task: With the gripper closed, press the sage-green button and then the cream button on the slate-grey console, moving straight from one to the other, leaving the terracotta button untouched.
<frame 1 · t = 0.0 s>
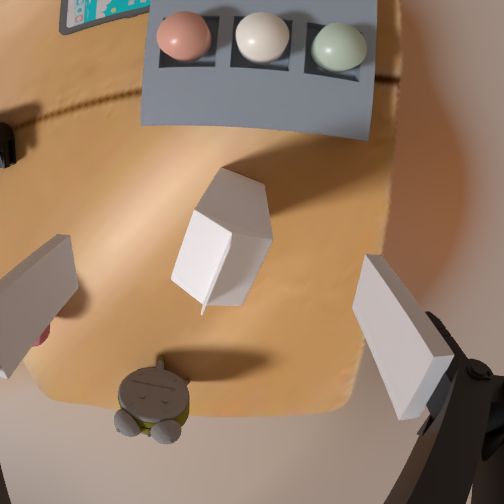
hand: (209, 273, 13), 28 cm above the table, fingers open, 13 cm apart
alarm clock: (163, 367, 53), on the table
button sage: (337, 48, 28), point 6 cm above the table, slide at 0.0 cm
button terracotta: (185, 37, 27), point 6 cm above the table, slide at 0.0 cm
button cream: (261, 38, 28), point 6 cm above the table, slide at 0.0 cm
milk: (234, 196, 41), on the table
console: (260, 49, 33), on the table
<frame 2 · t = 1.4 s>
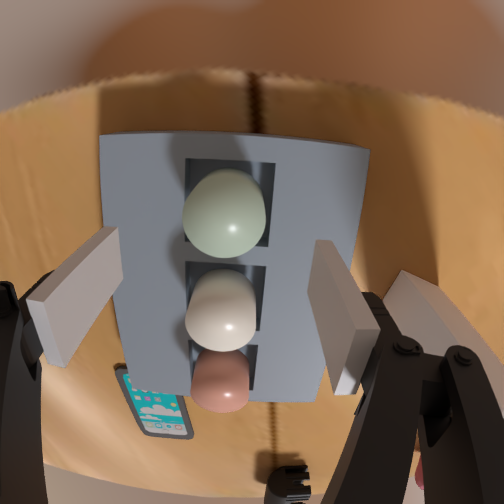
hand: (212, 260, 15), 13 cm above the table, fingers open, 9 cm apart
button sage: (225, 210, 22), point 6 cm above the table, slide at 0.0 cm
button terracotta: (221, 379, 28), point 6 cm above the table, slide at 0.0 cm
button cream: (222, 309, 25), point 6 cm above the table, slide at 0.0 cm
end cap: (284, 475, 47), on the table
milk: (406, 299, 32), on the table
smartphone: (158, 403, 39), on the table
apple: (429, 446, 46), on the table
console: (227, 275, 30), on the table
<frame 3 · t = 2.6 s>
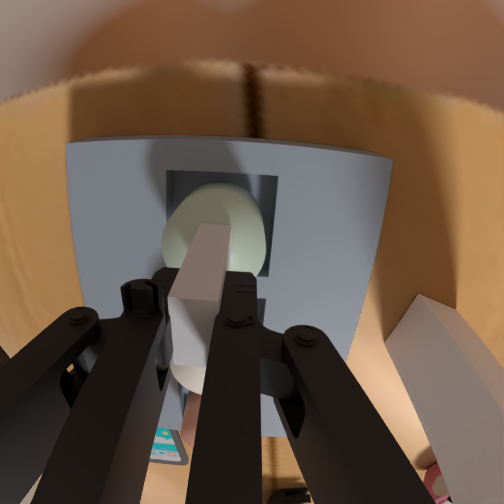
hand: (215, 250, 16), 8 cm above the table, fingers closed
button sage: (216, 234, 18), point 5 cm above the table, slide at 0.2 cm, touching gripper
button terracotta: (215, 419, 24), point 6 cm above the table, slide at 0.0 cm
button cream: (214, 349, 21), point 6 cm above the table, slide at 0.0 cm
end cap: (284, 496, 43), on the table
milk: (420, 325, 27), on the table
smartphone: (149, 430, 35), on the table
apple: (435, 464, 42), on the table
console: (221, 303, 26), on the table
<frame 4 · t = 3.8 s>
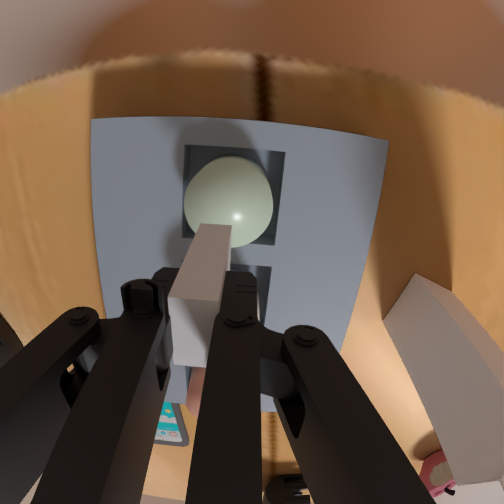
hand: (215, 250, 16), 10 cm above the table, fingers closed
button sage: (230, 197, 20), point 4 cm above the table, slide at 1.3 cm
button terracotta: (219, 388, 26), point 6 cm above the table, slide at 0.0 cm
button cream: (222, 314, 22), point 6 cm above the table, slide at 0.0 cm
end cap: (282, 483, 45), on the table
milk: (417, 305, 29), on the table
smartphone: (152, 408, 36), on the table
apple: (432, 455, 43), on the table
console: (228, 276, 28), on the table
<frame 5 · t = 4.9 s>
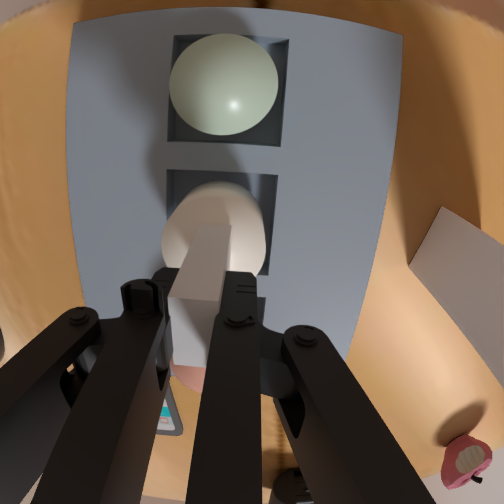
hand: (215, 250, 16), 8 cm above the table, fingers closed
button sage: (226, 86, 15), point 4 cm above the table, slide at 1.3 cm
button terracotta: (214, 348, 21), point 6 cm above the table, slide at 0.0 cm
button cream: (216, 234, 18), point 6 cm above the table, slide at 0.1 cm, touching gripper
end cap: (292, 478, 40), on the table
milk: (446, 248, 24), on the table
smartphone: (138, 389, 31), on the table
apple: (455, 440, 39), on the table
console: (224, 206, 23), on the table
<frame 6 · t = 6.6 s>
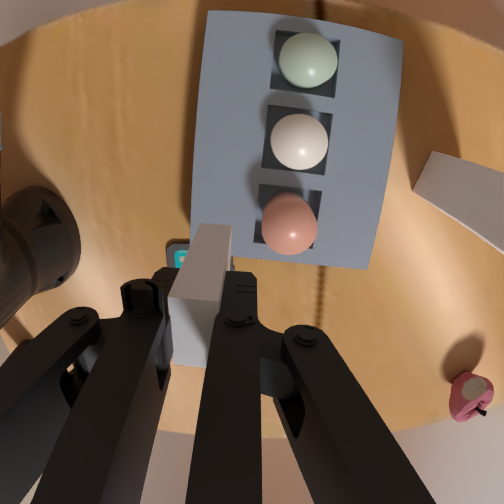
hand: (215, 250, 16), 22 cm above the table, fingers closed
button sage: (306, 61, 26), point 4 cm above the table, slide at 1.3 cm
button terracotta: (288, 222, 32), point 6 cm above the table, slide at 0.0 cm
button cream: (297, 140, 29), point 4 cm above the table, slide at 1.3 cm
milk: (438, 181, 35), on the table
smartphone: (203, 293, 42), on the table
apple: (459, 378, 48), on the table
console: (293, 137, 34), on the table
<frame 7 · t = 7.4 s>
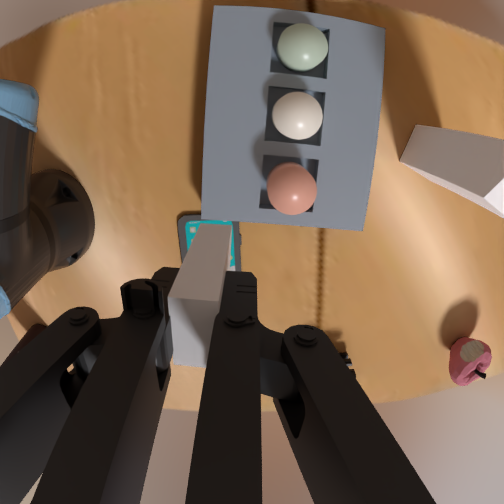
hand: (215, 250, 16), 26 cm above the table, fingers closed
wine bottle: (45, 336, 52), on the table
button sage: (301, 48, 30), point 4 cm above the table, slide at 1.3 cm
button terracotta: (290, 187, 35), point 6 cm above the table, slide at 0.0 cm
button cream: (295, 115, 33), point 4 cm above the table, slide at 1.3 cm
milk: (422, 152, 38), on the table
smartphone: (212, 263, 46), on the table
apple: (457, 344, 53), on the table
console: (291, 115, 37), on the table
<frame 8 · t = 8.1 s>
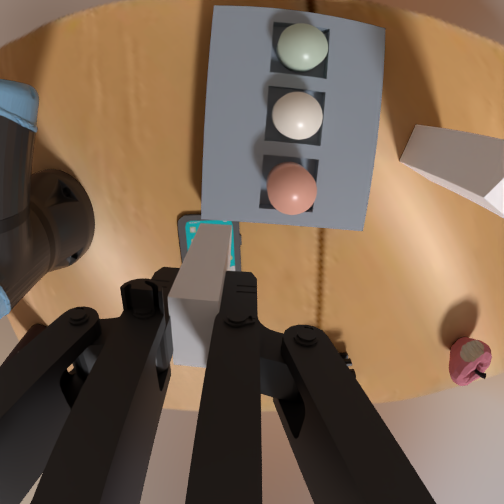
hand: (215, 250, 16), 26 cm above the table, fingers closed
wine bottle: (45, 336, 52), on the table
button sage: (301, 48, 30), point 4 cm above the table, slide at 1.3 cm
button terracotta: (290, 187, 35), point 6 cm above the table, slide at 0.0 cm
button cream: (295, 115, 33), point 4 cm above the table, slide at 1.3 cm
milk: (422, 152, 38), on the table
smartphone: (212, 263, 46), on the table
apple: (457, 344, 53), on the table
console: (291, 115, 37), on the table
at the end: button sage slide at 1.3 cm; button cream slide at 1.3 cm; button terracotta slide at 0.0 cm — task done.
